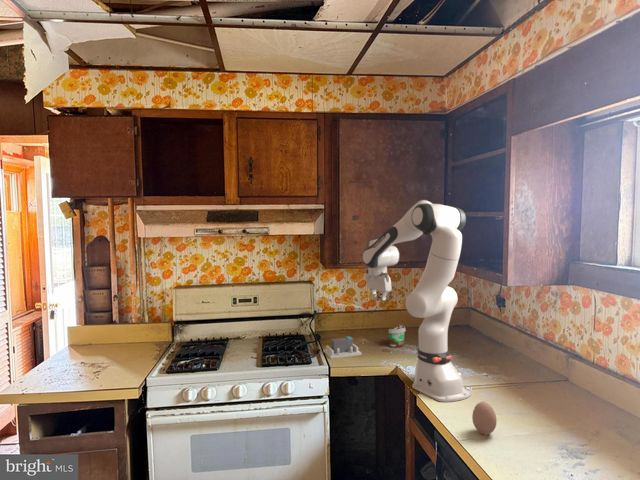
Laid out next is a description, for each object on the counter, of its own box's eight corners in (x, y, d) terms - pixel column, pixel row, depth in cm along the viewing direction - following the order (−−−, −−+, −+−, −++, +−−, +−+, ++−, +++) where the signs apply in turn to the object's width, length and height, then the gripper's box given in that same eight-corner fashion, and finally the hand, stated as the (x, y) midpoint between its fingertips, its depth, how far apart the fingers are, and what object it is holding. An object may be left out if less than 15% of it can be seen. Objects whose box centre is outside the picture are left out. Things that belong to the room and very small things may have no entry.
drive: (353, 351, 195) (352, 338, 195) (334, 353, 192) (333, 340, 191) (350, 348, 199) (349, 336, 198) (331, 351, 195) (331, 338, 195)
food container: (399, 350, 197) (399, 330, 197) (388, 348, 201) (388, 329, 201) (409, 343, 207) (409, 325, 207) (399, 342, 211) (399, 323, 210)
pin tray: (361, 354, 192) (361, 346, 192) (331, 359, 187) (330, 350, 187) (352, 347, 203) (352, 340, 203) (323, 351, 198) (323, 343, 198)
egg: (490, 427, 122) (489, 396, 121) (500, 439, 115) (500, 406, 115) (468, 428, 122) (468, 397, 121) (478, 440, 115) (477, 407, 114)
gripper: (394, 272, 185) (395, 301, 185) (374, 269, 204) (375, 295, 204) (382, 273, 183) (383, 302, 183) (363, 269, 202) (364, 296, 202)
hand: (379, 298), depth 194 cm, fingers open, 8 cm apart
